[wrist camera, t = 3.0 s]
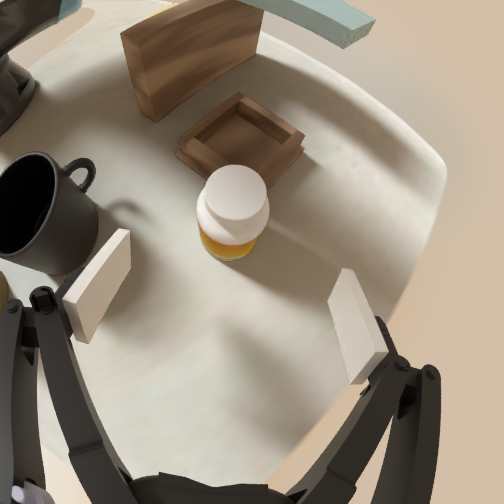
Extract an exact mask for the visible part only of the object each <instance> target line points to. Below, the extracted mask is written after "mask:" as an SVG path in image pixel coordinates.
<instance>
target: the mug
mask: <svg viewBox="0 0 504 504" xmlns="http://www.w3.org/2000/svg"><path fill="white" fill-rule="evenodd" d="M78 168H87V170H88V175H87V177H86V179H85V181H84V182H83V183H82V184H80V185H79V186H77V185H76V184H75V183H74V182H73V181H72V179H71V178H70V177H69V176H70V175H71V174H72V172H73V171H75V170H76V169H78ZM95 174H96V168H95V165H94V163H93V162H92V161H91V160H90V159H88V158H80V159H76V160H74V161H72V162H71V163H69V164H68V165H67V166H64V167H63V168H61V167H60V166H59V165H58V164H57V163H56V162H55V161H54V159H53V158H52V157H51V156H49V155H48V154H46V153H43V152H30V153H27V154H24V155H22V156H20V157H18V158H17V159H16V160H14V161H13V162H12V163H11V164H9V165H8V166H7V167H6V168H5V170H4V171H3V172H2V173H1V175H0V258H2V259H5V260H8V261H11V262H13V263H16V264H19V265H22V266H25V267H28V268H31V269H34V270H37V271H40V272H44V273H47V274H50V275H55V276H59V275H65V274H68V273H70V272H72V271H73V270H75V269H76V268H78V267H79V266H80V265H81V264H82V263H83V262H84V261H85V260H86V259H87V257H88V256H89V254H90V253H91V251H92V249H93V246H94V244H95V241H96V237H97V231H98V218H97V212H96V209H95V206H94V204H93V203H92V201H91V200H90V199H89V197H88V196H87V195H86V194H85V193H86V192H87V189H88V188H89V187H90V185H91V184H92V182H93V180H94V178H95Z"/></svg>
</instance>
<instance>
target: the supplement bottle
mask: <svg viewBox="0 0 504 504" xmlns="http://www.w3.org/2000/svg"><path fill="white" fill-rule="evenodd" d="M196 211H197V220H198V226H199V232H200V237H201V241H202V244H203V246H204V248H205V249H206V251H207V252H208V253H209V254H210V255H212V256H213V257H215V258H217V259H219V260H223V261H235V260H239V259H241V258H243V257H245V256H246V255H247V254H249V253H250V251H251V250H252V249H253V247H254V246H255V244H256V242H257V240H258V238H259V236H260V235H261V233H262V231H263V229H264V228H265V226H266V223H267V221H268V218H269V211H270V209H269V201H268V198H267V190H266V186H265V183H264V181H263V179H262V178H261V177H260V175H259V174H258V173H256V172H255V171H254V170H252V169H250V168H248V167H246V166H242V165H228V166H224V167H222V168H220V169H218V170H216V171H215V172H214V173H213V174H212V175H211V176H210V177H209V179H208V180H207V183H206V185H205V187H204V188H203V190H202V191H201V193H200V195H199V198H198V201H197V208H196Z"/></svg>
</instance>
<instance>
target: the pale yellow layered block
mask: <svg viewBox="0 0 504 504" xmlns="http://www.w3.org/2000/svg"><path fill="white" fill-rule="evenodd" d="M176 5H179V4H178V3H173V4H170V5H168V6H166V7H163V8H161V9H159V10H157V11H154V12H152V13H151V14H149V15H148V16H146V17H147V18H150V17H152V16H154V15H156V14H158V13H160V12H162V11H165V10H167V9H169V8H172V7H174V6H176Z"/></svg>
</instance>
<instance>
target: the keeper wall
mask: <svg viewBox="0 0 504 504" xmlns="http://www.w3.org/2000/svg"><path fill="white" fill-rule="evenodd" d="M263 13H264V10H263V9H260V8H257V7H255V6H252V5H249V4H246V3H243V2H240V1H237V0H189V1H186V2H184V3H181V4H179V5H176V6H174V7H172V8H169V9H167V10H165V11H162V12H160V13H158V14H156V15H154V16H152V17H150V18H147V19H145V20H143V21H142V22H140V23H138V24H136V25H134V26H132V27H130V28H128V29H127V30H125V31H123V32H121V33H120V35H121V40H122V44H123V48H124V52H125V56H126V60H127V64H128V68H129V72H130V76H131V79H132V83H133V87H134V90H135V94H136V97H137V101H138V104H139V108H140V111H141V113H142V114H144V115H145V116H147V117H148V118H150V119H151V120H153V121H154V122H156V123H157V122H158V121H159V120H160V119H161V118H163V117H164V116H165V115H166V114H168V113H169V112H170V111H172V110H173V109H174V108H175V107H177V106H178V105H179V104H181V103H182V102H183V101H185V100H186V99H187V98H189V97H190V96H192V95H193V94H194V93H196V92H197V91H199V90H200V89H201V88H203V87H204V86H206V85H207V84H209V83H210V82H212V81H213V80H215V79H216V78H218V77H219V76H221V75H222V74H224V73H226V72H227V71H229V70H230V69H232V68H234V67H235V66H237V65H239V64H240V63H242V62H244V61H246V60H247V59H249V58H251V57H253V56H254V55H255V53H256V48H257V43H258V38H259V33H260V28H261V24H262V19H263Z"/></svg>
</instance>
